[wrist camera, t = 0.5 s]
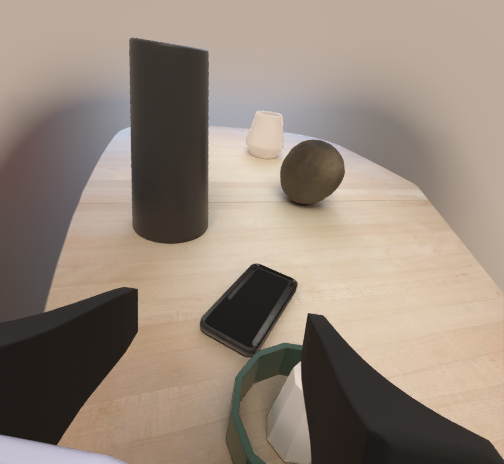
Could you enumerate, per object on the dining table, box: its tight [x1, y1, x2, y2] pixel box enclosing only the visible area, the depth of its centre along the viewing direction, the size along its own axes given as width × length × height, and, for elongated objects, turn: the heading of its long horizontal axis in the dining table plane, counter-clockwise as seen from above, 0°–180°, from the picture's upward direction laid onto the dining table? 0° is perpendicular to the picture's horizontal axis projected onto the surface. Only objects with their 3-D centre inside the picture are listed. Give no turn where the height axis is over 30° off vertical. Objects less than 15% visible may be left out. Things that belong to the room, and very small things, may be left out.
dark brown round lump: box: [280, 140, 345, 204], centre depth 69 cm, size 14×14×15 cm
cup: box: [246, 111, 284, 159], centre depth 100 cm, size 13×13×14 cm
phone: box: [200, 264, 297, 357], centre depth 39 cm, size 8×1×15 cm
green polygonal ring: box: [226, 343, 302, 464], centre depth 26 cm, size 12×12×4 cm
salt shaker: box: [267, 362, 311, 464], centre depth 24 cm, size 5×5×11 cm
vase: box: [129, 38, 209, 243], centre depth 48 cm, size 14×14×29 cm
